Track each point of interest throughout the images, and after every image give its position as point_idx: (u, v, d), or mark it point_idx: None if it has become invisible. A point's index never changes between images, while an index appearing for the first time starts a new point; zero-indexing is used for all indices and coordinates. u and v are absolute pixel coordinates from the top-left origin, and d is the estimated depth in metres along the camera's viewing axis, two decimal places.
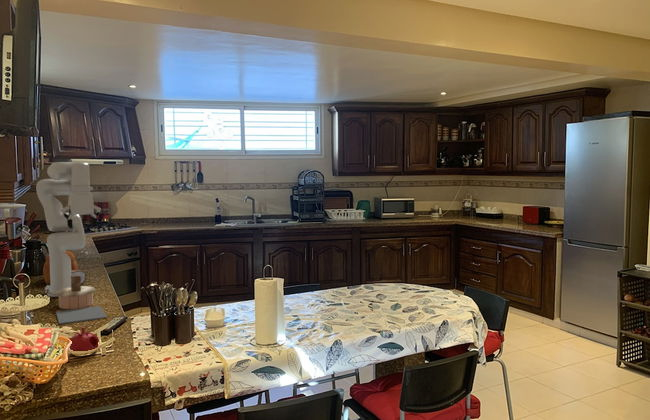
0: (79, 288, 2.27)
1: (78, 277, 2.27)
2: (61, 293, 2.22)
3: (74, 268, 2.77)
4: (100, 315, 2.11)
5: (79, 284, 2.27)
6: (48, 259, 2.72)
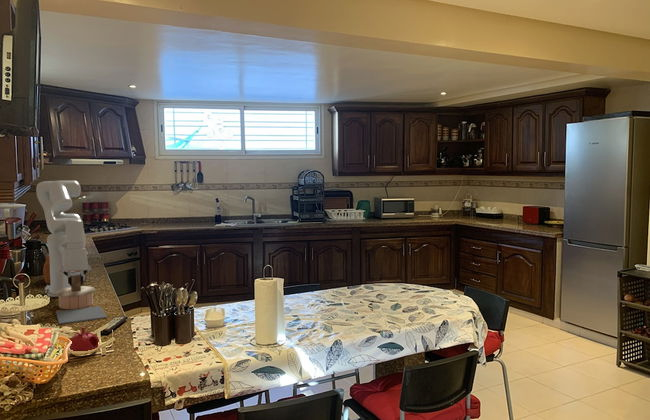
0: (79, 288, 2.27)
1: (78, 277, 2.27)
2: (61, 293, 2.22)
3: None
4: (100, 315, 2.11)
5: (79, 284, 2.27)
6: (48, 259, 2.72)
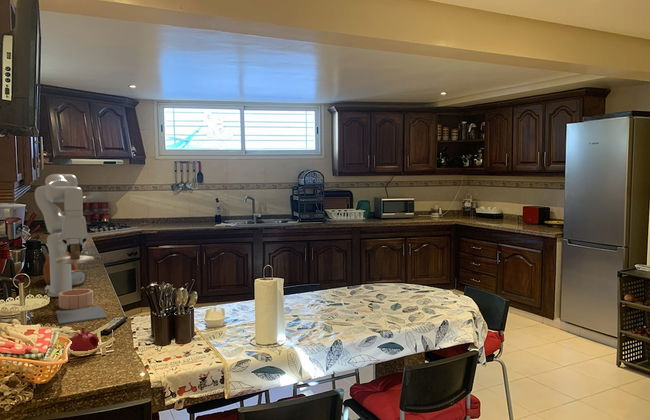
0: (78, 256, 2.26)
1: (77, 245, 2.26)
2: (60, 261, 2.21)
3: (74, 268, 2.77)
4: (100, 315, 2.11)
5: (78, 252, 2.26)
6: (48, 259, 2.72)
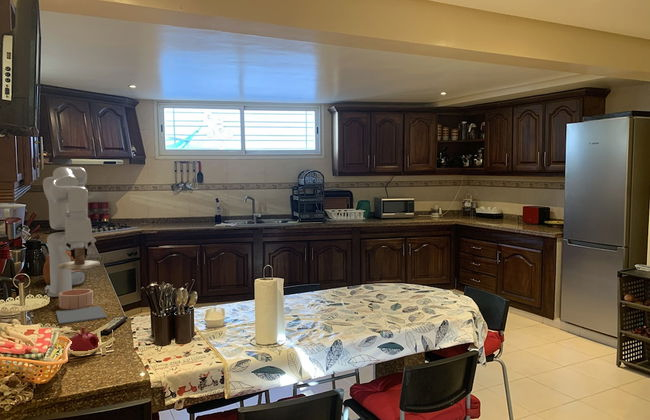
0: (83, 261, 2.10)
1: (82, 249, 2.09)
2: (63, 266, 2.04)
3: None
4: (100, 315, 2.11)
5: (83, 257, 2.09)
6: (48, 259, 2.72)
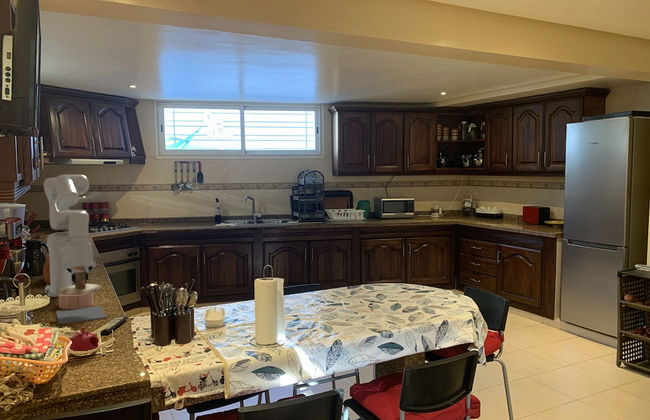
0: (84, 286, 2.10)
1: (83, 274, 2.09)
2: (64, 291, 2.05)
3: None
4: (100, 315, 2.11)
5: (84, 281, 2.10)
6: (48, 259, 2.72)
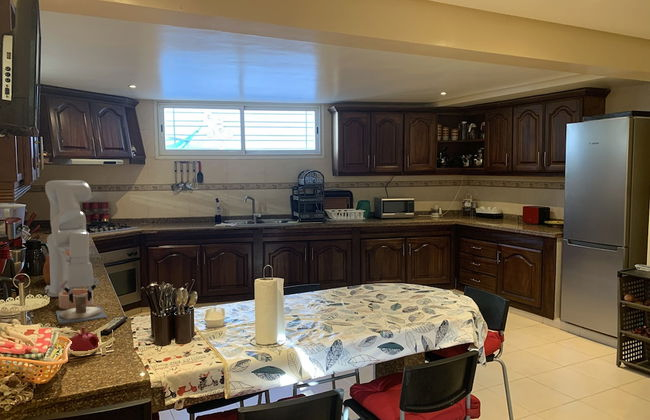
0: (84, 310, 2.11)
1: (83, 298, 2.10)
2: (65, 316, 2.06)
3: None
4: (100, 315, 2.11)
5: (84, 305, 2.11)
6: (48, 259, 2.72)
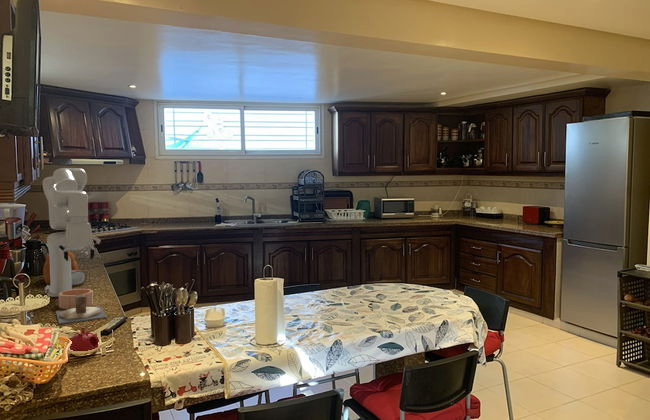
0: (84, 310, 2.11)
1: (83, 298, 2.10)
2: (65, 316, 2.06)
3: (74, 268, 2.77)
4: (100, 315, 2.11)
5: (84, 305, 2.11)
6: (48, 259, 2.72)
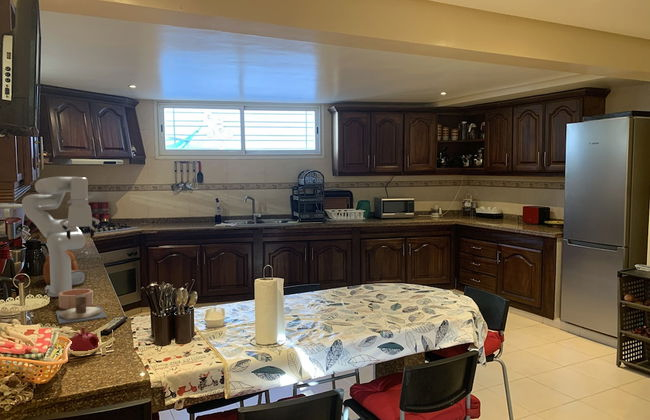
0: (84, 310, 2.11)
1: (83, 298, 2.10)
2: (65, 316, 2.06)
3: (74, 268, 2.77)
4: (100, 315, 2.11)
5: (84, 305, 2.11)
6: (48, 259, 2.72)
